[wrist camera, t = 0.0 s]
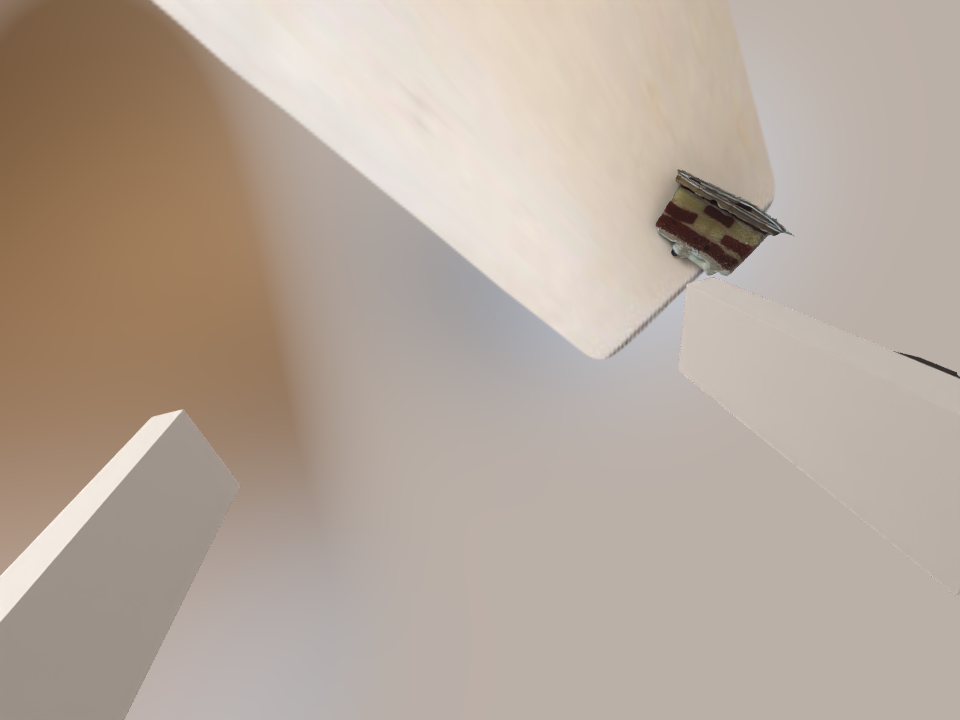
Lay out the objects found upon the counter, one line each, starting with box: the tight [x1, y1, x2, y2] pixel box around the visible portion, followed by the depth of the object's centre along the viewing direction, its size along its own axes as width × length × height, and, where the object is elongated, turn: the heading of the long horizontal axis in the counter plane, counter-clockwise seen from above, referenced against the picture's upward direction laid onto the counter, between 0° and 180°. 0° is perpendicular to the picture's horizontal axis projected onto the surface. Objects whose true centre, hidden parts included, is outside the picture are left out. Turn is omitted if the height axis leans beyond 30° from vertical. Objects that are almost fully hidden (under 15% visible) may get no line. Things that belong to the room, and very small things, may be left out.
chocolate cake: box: [656, 169, 792, 276], centre depth 39 cm, size 10×7×12 cm
